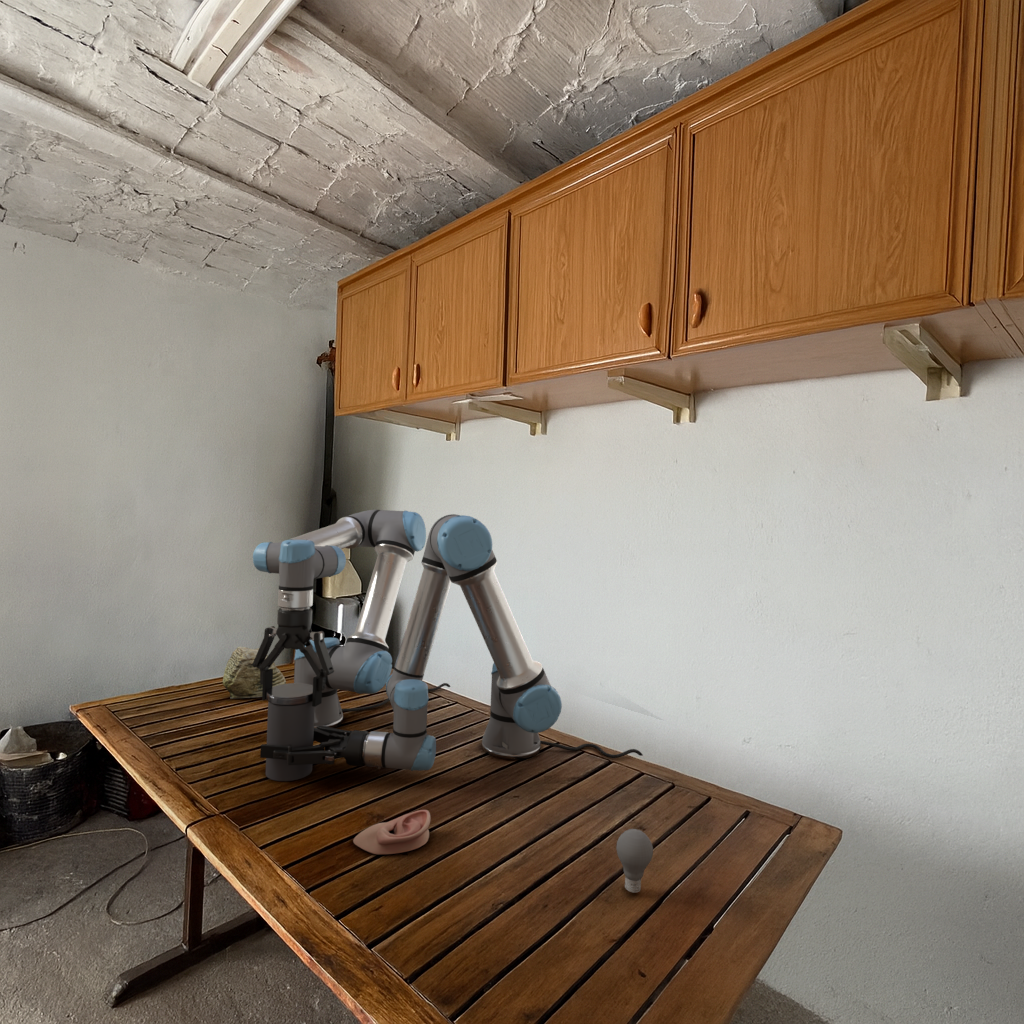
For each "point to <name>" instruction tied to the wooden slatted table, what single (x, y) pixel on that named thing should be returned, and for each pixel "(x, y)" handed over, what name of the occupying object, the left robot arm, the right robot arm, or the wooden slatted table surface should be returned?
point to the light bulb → (634, 857)
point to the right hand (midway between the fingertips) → (272, 741)
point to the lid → (290, 694)
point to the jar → (289, 738)
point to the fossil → (246, 674)
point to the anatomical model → (396, 834)
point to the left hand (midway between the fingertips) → (291, 701)
